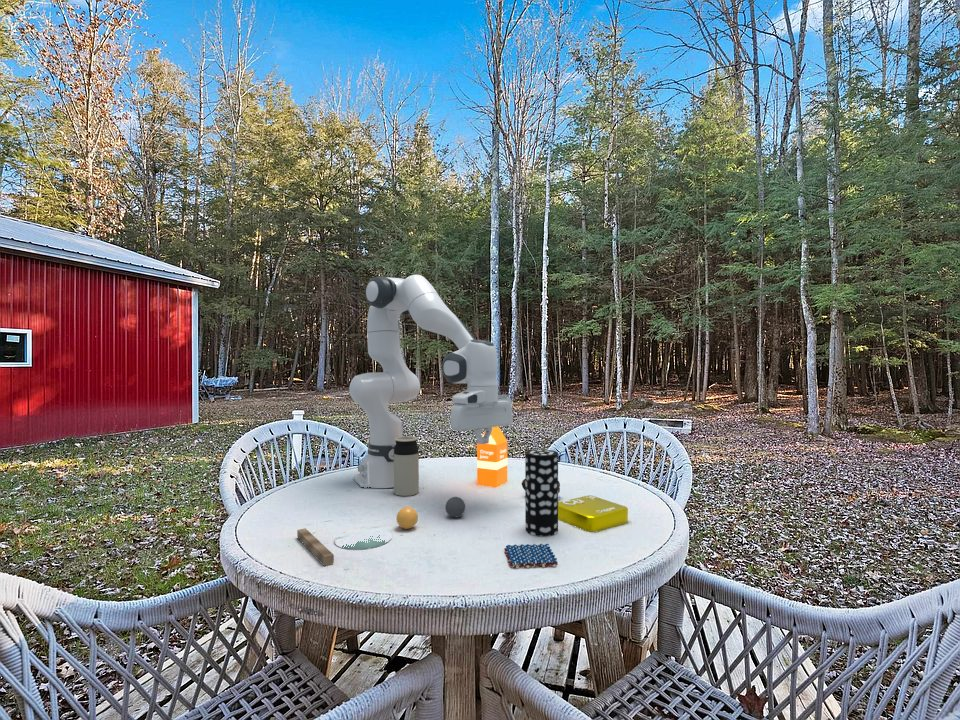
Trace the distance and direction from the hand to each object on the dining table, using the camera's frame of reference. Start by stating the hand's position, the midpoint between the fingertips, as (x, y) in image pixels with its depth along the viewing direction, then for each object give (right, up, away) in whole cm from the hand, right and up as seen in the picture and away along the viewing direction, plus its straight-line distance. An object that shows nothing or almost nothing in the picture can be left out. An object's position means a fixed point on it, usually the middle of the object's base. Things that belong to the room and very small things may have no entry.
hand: (483, 443), depth 142 cm
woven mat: (+10, -21, -33) cm, 40 cm away
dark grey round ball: (-8, -17, -5) cm, 19 cm away
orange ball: (-20, -17, -14) cm, 30 cm away
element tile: (+29, -20, -8) cm, 36 cm away
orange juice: (+3, -19, +30) cm, 36 cm away
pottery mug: (+18, -20, +13) cm, 30 cm away
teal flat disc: (-30, -20, -21) cm, 41 cm away
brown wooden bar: (-39, -20, -28) cm, 52 cm away
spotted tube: (+15, -20, -16) cm, 29 cm away
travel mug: (-25, -19, +18) cm, 36 cm away
